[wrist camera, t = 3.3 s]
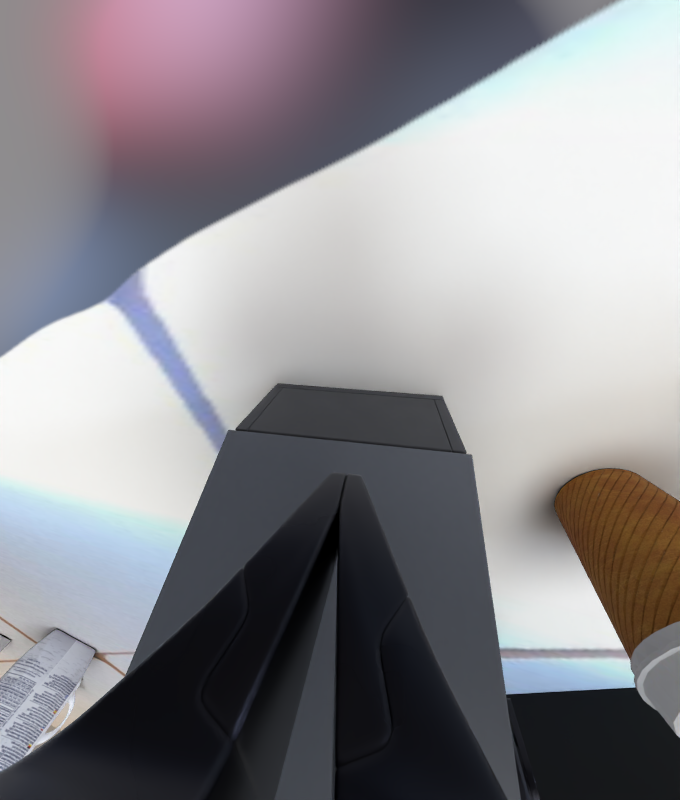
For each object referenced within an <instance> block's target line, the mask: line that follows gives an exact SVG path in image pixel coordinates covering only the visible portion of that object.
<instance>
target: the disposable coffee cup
mask: <svg viewBox="0 0 680 800" xmlns="http://www.w3.org/2000/svg"><path fill="white" fill-rule="evenodd" d="M554 507H555V511H556V513H557V516H558V518H559V520H560V521H561V523H562V525H563V527H564V529H565V531H566V533H567V535H568V537H569V539H570V541H571V543H572V545H573V547H574V549H575V551H576V553H577V555H578V557H579V559H580V561H581V563H582V565H583V567H584V569H585V571H586V573H587V575H588V577H589V579H590V581H591V583H592V585H593V587H594V589H595V591H596V593H597V595H598V597H599V599H600V601H601V603H602V605H603V607H604V609H605V611H606V613H607V615H608V617H609V619H610V621H611V623H612V625H613V627H614V629H615V631H616V633H617V635H618V637H619V639H620V641H621V642H622V644H623V646H624V648H625V650H626V652H627V654H628V656H629V658H630V662H631V670H632V672H633V673H634V675H635V677H634V682H635V686H636V688H637V690H638V692H639V694H640V695H641V697H642V699H643V700H644V701H645V702H646V703H647V704H649V705H650V706H651V707H652V708H654V709H655V710H657V711H658V712H659V713H660V714H661V716H662V717H663V718H664V719H665V721H666V722H667V723H668V724H669V726H670V727H671V728H672V730H673V731H674V732H675V733H676V735H677V736H679V737H680V501H678V500H677V499H675V498H674V497H672V496H671V495H669V494H667V493H666V492H664V491H663V490H661V489H660V488H658V487H657V486H655V485H653V484H652V483H650V482H649V481H647V480H646V479H644V478H643V477H641V476H640V475H638V474H636V473H634V472H631V471H628V470H622V469H600V470H595V471H591V472H588V473H585V474H582V475H580V476H578V477H576V478H574V479H573V480H571V481H570V482H568V483H567V484H566V485H565V486H563V487H562V488H561V490H560V491H559V493H558V494H557V496H556V499H555V503H554Z"/></svg>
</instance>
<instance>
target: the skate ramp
mask: <svg viewBox="0 0 680 800" xmlns="http://www.w3.org/2000/svg"><path fill="white" fill-rule="evenodd" d="M9 642H10V640H8V639H6V638H5V637H3V636H1V635H0V651H1V650H2V649H3V648H4V647H5V646H6V645H7V644H8V643H9Z"/></svg>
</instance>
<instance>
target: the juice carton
mask: <svg viewBox="0 0 680 800" xmlns="http://www.w3.org/2000/svg"><path fill="white" fill-rule="evenodd" d="M94 654H95V650H94V649H93V648H91V647H89V646H87V645H85V644H84V643H82V642H80V641H78V640H76V639H74V638H72V637H71V636H69V635H67V634H65V633H63V632H61V631H59V630H54V631H53V632H51V633H50V634H49V635H47V636H46V637H45V638H43V639H42V640H41V641H40V642H38V643H37V644H36V645H35V646H33V647H32V648H31V649H30V650H29V651H27V652H26V653H25V654H24V655H23V656H22V657H21V658H20V659H19V660H18V661H17V662H16V663H15V664H14V665H13V666H12V667H11V668H10V669H9V670H8V671H7V672H6V673H5V674H4V675H3V676H2V677H1V678H0V772H1V771H2V770H4V769H6V768H7V767H9V766H11V765H12V764H14V763H16V762H17V761H19V760H21V759H22V758H24V756H25V755H26V754H27V752H28V751H29V749H30V748H31V747H32V745H33V744H34V743H35V741H36V740H37V739H38V737H39V736H40V735H41V733H42V732H43V730H44V729H45V728H46V726H47V725H48V724H49V722H50V721H51V720H52V718H53V717H54V715H55V714H56V713H57V711H58V710H59V709H60V707H61V706H62V705H63V703H64V702H65V701H66V699H67V698H68V696H69V695H70V694H71V692H72V691H73V689H74V688H75V687H76V685H77V684H78V682H79V681H80V679H81V678H82V676H83V675H84V673H85V671H86V669H87V667H88V665H89V664H90V662H91V660H92V658H93V656H94Z"/></svg>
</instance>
